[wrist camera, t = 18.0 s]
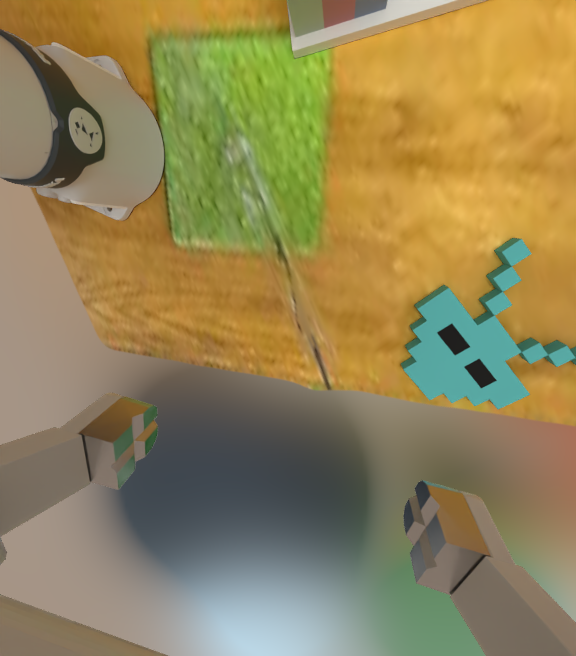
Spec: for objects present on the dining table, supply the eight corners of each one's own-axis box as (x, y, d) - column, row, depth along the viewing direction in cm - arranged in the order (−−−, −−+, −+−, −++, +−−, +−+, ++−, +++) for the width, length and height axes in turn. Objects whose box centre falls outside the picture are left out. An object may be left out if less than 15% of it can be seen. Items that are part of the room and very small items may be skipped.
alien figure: (510, 237, 33) (373, 331, 41) (521, 238, 31) (375, 337, 39) (588, 352, 36) (449, 419, 44) (603, 360, 34) (454, 429, 42)
